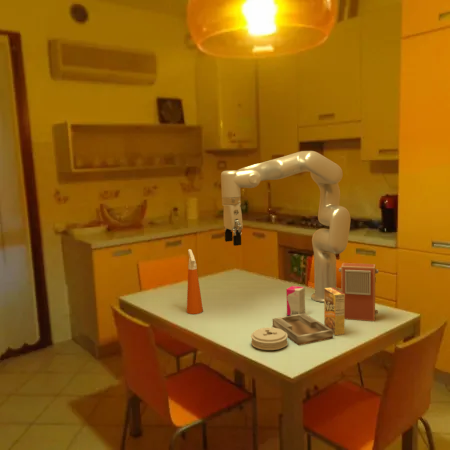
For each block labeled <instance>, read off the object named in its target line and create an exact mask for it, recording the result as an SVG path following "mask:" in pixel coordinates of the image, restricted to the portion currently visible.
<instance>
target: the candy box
mask: <svg viewBox="0 0 450 450" xmlns="http://www.w3.org/2000/svg"><path fill="white" fill-rule="evenodd" d="M323 303H324V305H323V307H324V309H323V312H324V314H323V315H324V318H323V319H324V323H323V325H325V326H327V327H328V328H330V329H332V330H333V336H340V335H345V325H346V324H345V322H346V319H345V294H344V293H342V292H340V291H339V290H337V289H335V288H334V287H333V288H325V289H324V302H323Z"/></svg>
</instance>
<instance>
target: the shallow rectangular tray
mask: <svg viewBox="0 0 450 450" xmlns="http://www.w3.org/2000/svg"><path fill="white" fill-rule="evenodd" d="M272 328H278V329H281V330H283V331H284V332H286V333H287V335H288V337H287V339H289V340H290V341H292V342H294V344H296V345H297V346H301V345H306V344H307V345H308V344H311V343H317V342H321V341H326V340H331V339H334V334H333V330H332V329H330V328H328V327H327V326H325V325H324V323H322V322H320V321H318V320H317V319H315V318H313V317H312V316H310V315H308V314H307V313H306V312H305V313H302V314H297V315H291V316H287V315H286V316H285V315H284V316H282V317H274V318H272Z"/></svg>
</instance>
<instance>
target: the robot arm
mask: <svg viewBox="0 0 450 450" xmlns="http://www.w3.org/2000/svg"><path fill="white" fill-rule="evenodd" d="M304 172H308V173H309V172H310V177H311V180H313V182H314V183H315V184H316V185H317V186H318V188H319V192H320V195H319V204H318V206H319V207H318V212H317V219H318V222H319V224H321V225H323V226H326V227H329V228H324V227H323V228H319V229H317V230H315V231H314V232H313V234H312V238H311V244H312V245H311V246H312V249H313V261H314V263H313V264H314V266H313V269H314V273H313V274H314V293H312V294H311V296H310V299H312V301H315V302H319V303H324V289H325V288H333V287H334V288H335V289H337V290H339V291H340V292H341V288H340V287H337V257H336V255H340V254H342V253H343V252H344V251H345V250H346V248H347V246H348V244H349V236H350V230H351V229H350V228H351V214H350V212H349V210H348V209H347V208H346V207H345V206H342V205H340V201H341V190H340V186H339V183H340V182H341V180H342V178H343V177H344V176H343V170H342V167H340V165H339V164H338V163H335V162H334V161H332V160H331V159H329V158H327V157H325V156H324V155H323V154H321V153H319V152H317V151H314V150H301V151H297V152H294V153H290V154H288V155H284V156H281V157H277V158H273V159H270V160H267V161H263V162H260V163H259V162H258V163H254V164H251V165H248V166H244V167H242V168H239V169H237V170H233V169H231V170H223V171H222V172H221V174H220V182H221V183H220V184H221V186H220V187H221V206H223V228H224V229H223V231H224V241H225V242H232V243H233V246H234V247H235V246H236V247H237V246H242V230H243V227H244V223H243V214H242V207H241V205H242V201H241V196H242V195H241V189H242V188H243V189H245V188H246V189H253V188H256V187H257V186H259V185H260V183H261V182H262V181H269V180H271V181H274V180H275V181H276V180H281V179H284V178H287V177H291V176H294V175H297V174H300V173H304Z"/></svg>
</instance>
